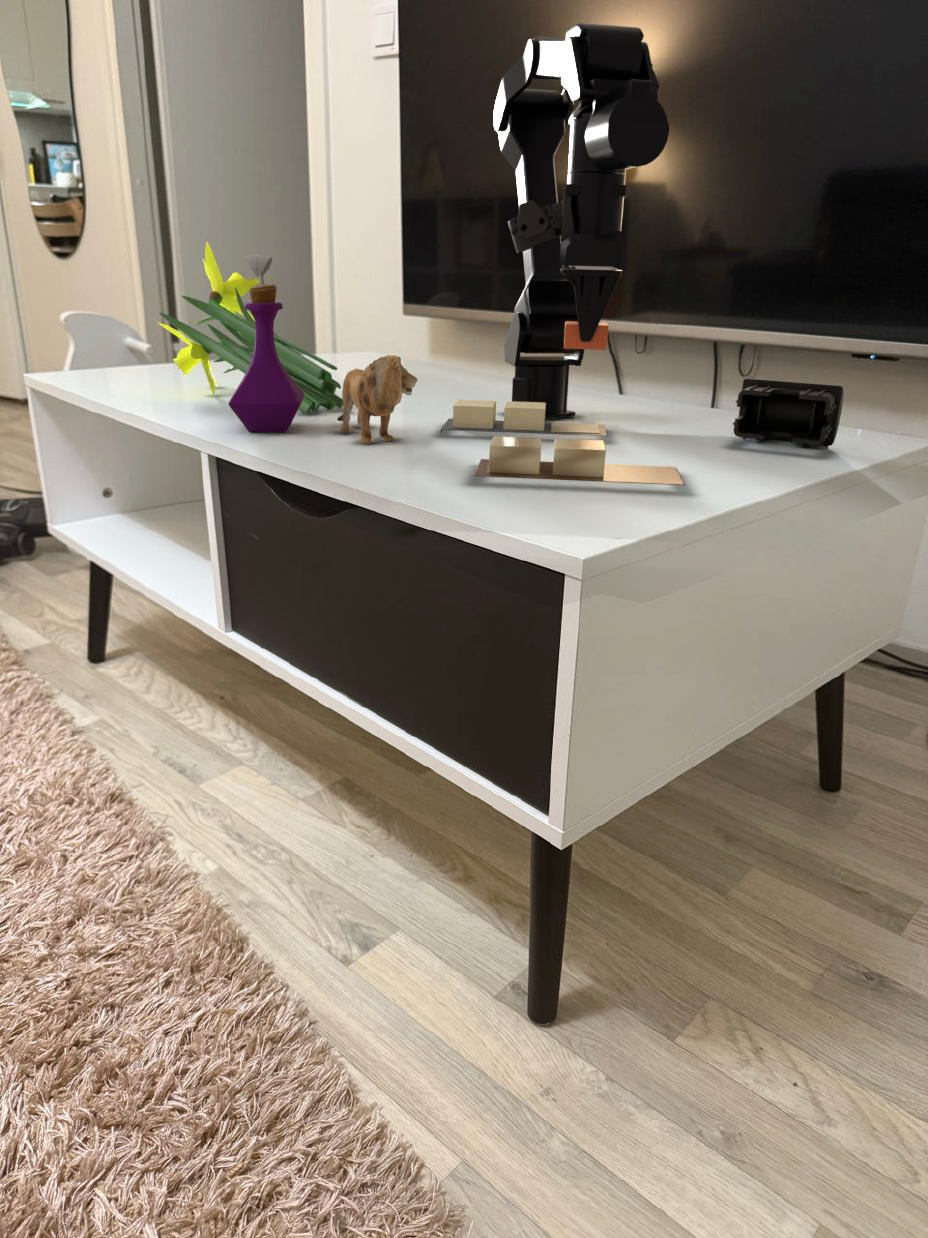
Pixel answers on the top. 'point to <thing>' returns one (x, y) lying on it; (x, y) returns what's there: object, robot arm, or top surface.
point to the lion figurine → (375, 394)
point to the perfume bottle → (265, 366)
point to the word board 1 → (513, 419)
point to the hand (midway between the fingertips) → (585, 339)
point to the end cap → (789, 411)
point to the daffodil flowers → (247, 341)
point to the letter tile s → (574, 342)
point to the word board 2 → (566, 463)
